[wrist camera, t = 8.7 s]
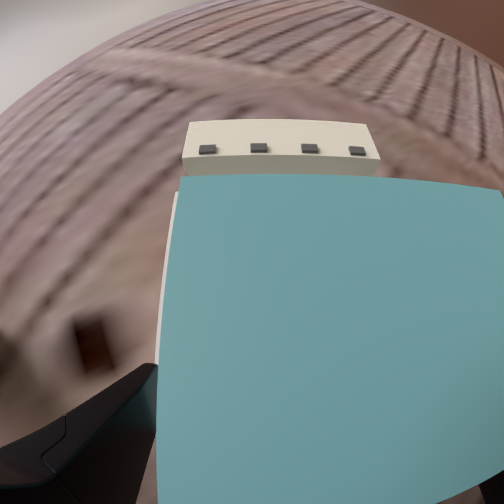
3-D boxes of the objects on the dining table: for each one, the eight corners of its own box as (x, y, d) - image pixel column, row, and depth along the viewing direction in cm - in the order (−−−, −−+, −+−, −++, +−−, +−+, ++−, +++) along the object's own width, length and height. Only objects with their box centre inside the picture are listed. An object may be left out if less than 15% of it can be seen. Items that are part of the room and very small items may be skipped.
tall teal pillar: (336, 426, 13) (556, 433, 2) (237, 432, 13) (159, 531, 2) (332, 353, 15) (499, 190, 4) (237, 357, 15) (181, 176, 4)
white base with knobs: (403, 413, 14) (479, 405, 8) (158, 425, 14) (96, 431, 8) (366, 199, 22) (396, 125, 15) (178, 200, 22) (155, 122, 15)
